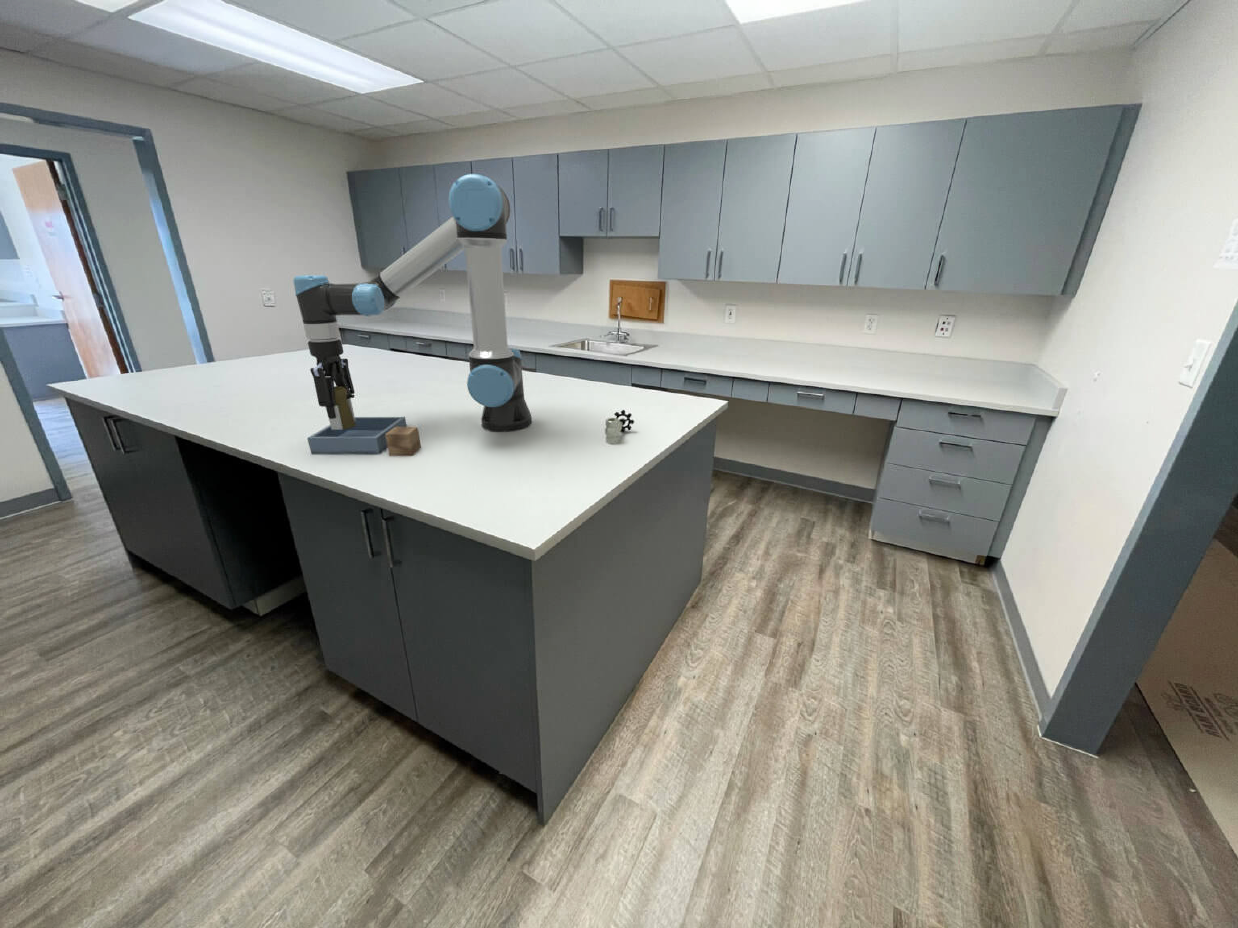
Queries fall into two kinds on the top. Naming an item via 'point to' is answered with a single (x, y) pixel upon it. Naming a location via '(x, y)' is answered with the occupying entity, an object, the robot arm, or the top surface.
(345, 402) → the cork
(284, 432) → the top surface
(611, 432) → the valve
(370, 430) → the tray
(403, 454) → the walnut block
